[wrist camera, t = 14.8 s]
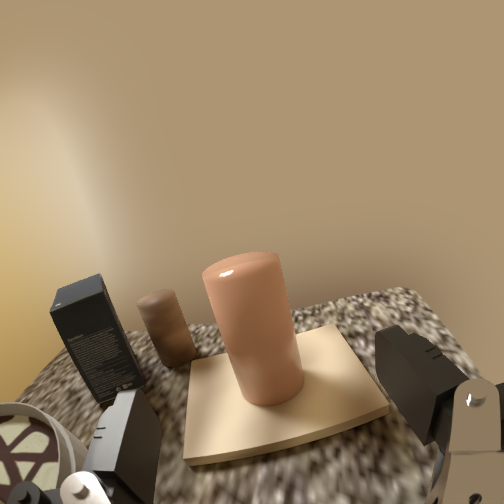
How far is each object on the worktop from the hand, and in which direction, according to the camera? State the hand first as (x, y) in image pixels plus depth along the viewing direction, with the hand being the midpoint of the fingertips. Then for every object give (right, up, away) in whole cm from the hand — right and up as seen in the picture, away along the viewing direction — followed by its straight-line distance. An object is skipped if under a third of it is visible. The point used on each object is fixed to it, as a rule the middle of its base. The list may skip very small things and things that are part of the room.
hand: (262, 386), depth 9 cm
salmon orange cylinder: (+1, -6, +13) cm, 14 cm away
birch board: (+1, -7, +13) cm, 15 cm away
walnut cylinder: (-8, -7, +22) cm, 24 cm away
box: (-15, -9, +20) cm, 26 cm away
